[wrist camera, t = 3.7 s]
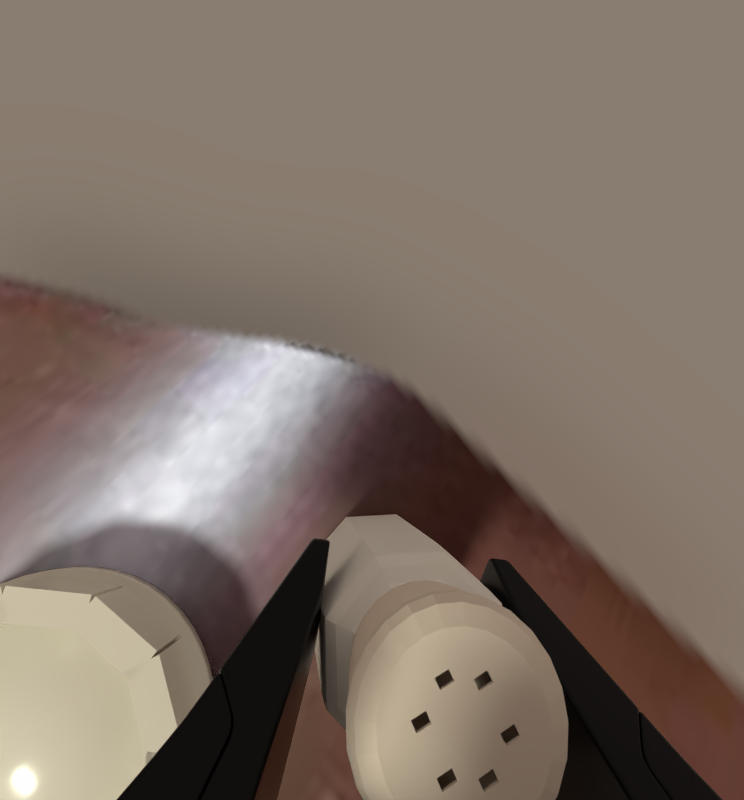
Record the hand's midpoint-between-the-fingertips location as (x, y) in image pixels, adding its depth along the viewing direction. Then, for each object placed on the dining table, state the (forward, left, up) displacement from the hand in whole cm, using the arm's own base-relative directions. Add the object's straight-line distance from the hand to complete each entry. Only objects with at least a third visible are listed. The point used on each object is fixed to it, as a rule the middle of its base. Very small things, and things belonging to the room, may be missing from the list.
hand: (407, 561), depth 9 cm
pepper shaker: (-1, +1, -7) cm, 7 cm away
